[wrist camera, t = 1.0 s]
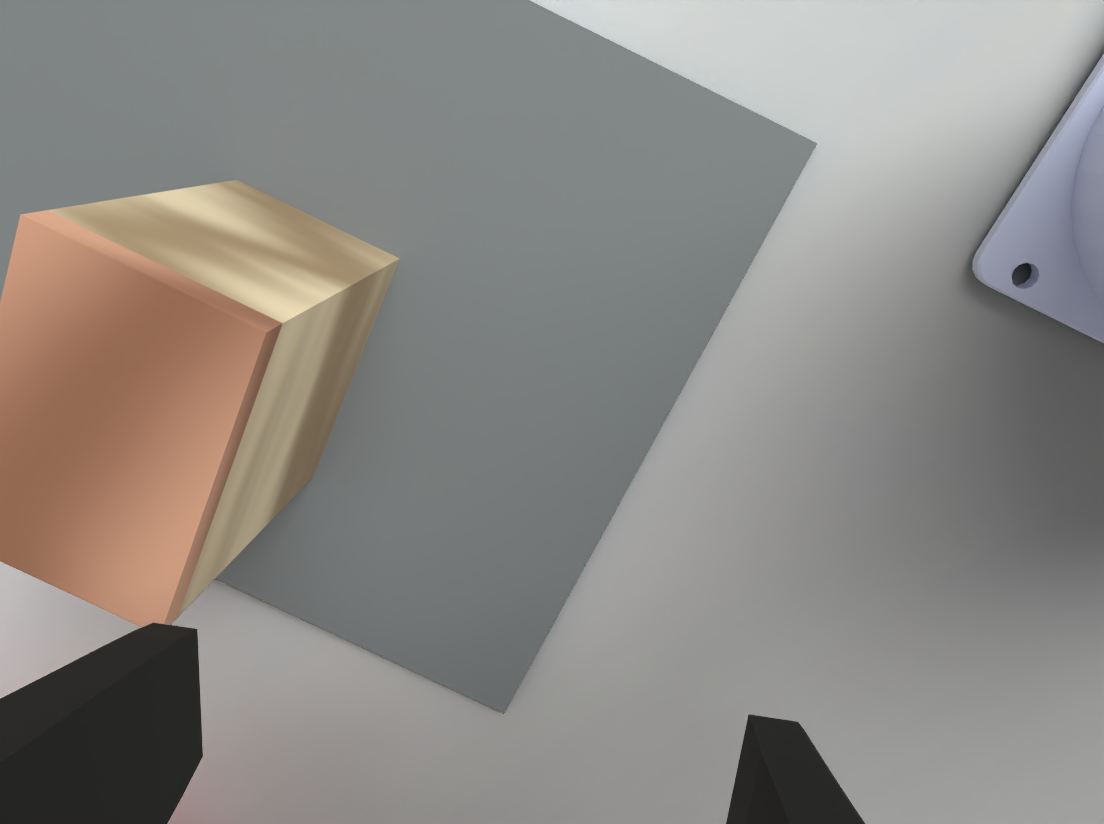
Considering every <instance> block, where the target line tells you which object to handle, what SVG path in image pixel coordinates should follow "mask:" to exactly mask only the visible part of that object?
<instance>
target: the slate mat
mask: <svg viewBox="0 0 1104 824" xmlns="http://www.w3.org/2000/svg"><path fill="white" fill-rule="evenodd" d="M816 145H817V143H815V142H813V141H811V140H809V139H807V138H805V137H803V136H801V135H799V134H797V133H795V132H793V131H791V130H789V129H787V128H785V127H783V126H781V125H779V124H777V123H775V122H773V121H771V120H769V119H767V118H765V117H763V116H761V115H759V114H757V113H755V112H753V111H751V110H749V109H747V108H745V107H743V106H741V105H738V104H736V103H734V102H732V101H730V100H728V99H726V98H724V97H722V96H720V95H718V94H716V93H714V92H712V91H710V90H708V89H706V88H704V87H702V86H700V85H698V84H696V83H694V82H692V81H690V80H688V79H686V78H684V77H682V76H680V75H678V74H676V73H674V72H672V71H670V70H668V69H666V68H664V67H662V66H660V65H658V64H656V63H654V62H652V61H650V60H648V59H646V58H644V57H642V56H640V55H638V54H636V53H634V52H632V51H630V50H628V49H626V48H624V47H622V46H620V45H618V44H616V43H614V42H612V41H610V40H608V39H606V38H604V37H602V36H600V35H598V34H596V33H594V32H592V31H590V30H588V29H585V28H583V27H581V26H579V25H577V24H575V23H573V22H571V21H569V20H567V19H565V18H563V17H561V16H559V15H557V14H555V13H553V12H551V11H549V10H547V9H545V8H543V7H541V6H539V5H537V4H535V3H533V2H531V1H529V0H0V301H1V297H2V293H3V288H4V284H5V279H6V275H7V271H8V266H9V262H10V258H11V253H12V249H13V245H14V240H15V236H16V231H17V227H18V223H19V218H20V214H27V213H33V212H39V211H45V210H51V209H58V208H64V207H70V206H76V205H83V204H89V203H95V202H101V201H108V200H114V199H120V198H126V197H133V196H139V195H145V194H151V193H158V192H164V191H170V190H176V189H183V188H189V187H195V186H201V185H208V184H214V183H220V182H226V181H233V180H238V181H240V182H242V183H244V184H247V185H249V186H251V187H253V188H255V189H257V190H259V191H261V192H263V193H265V194H267V195H269V196H271V197H273V198H275V199H278V200H280V201H282V202H284V203H286V204H288V205H290V206H292V207H294V208H296V209H298V210H300V211H302V212H304V213H306V214H308V215H311V216H313V217H315V218H317V219H319V220H321V221H323V222H325V223H327V224H329V225H331V226H333V227H335V228H337V229H339V230H342V231H344V232H346V233H348V234H350V235H352V236H354V237H356V238H358V239H360V240H362V241H364V242H366V243H368V244H370V245H373V246H375V247H377V248H379V249H381V250H383V251H385V252H387V253H389V254H391V255H393V256H395V257H397V258H399V261H398V264H397V266H396V269H395V271H394V274H393V276H392V279H391V281H390V284H389V287H388V289H387V292H386V294H385V297H384V299H383V302H382V304H381V307H380V309H379V312H378V314H377V317H376V319H375V322H374V324H373V327H372V329H371V332H370V334H369V337H368V339H367V342H366V344H365V347H364V350H363V352H362V355H361V357H360V360H359V362H358V365H357V367H356V370H355V372H354V375H353V377H352V380H351V382H350V385H349V387H348V390H347V392H346V395H345V397H344V400H343V402H342V405H341V408H340V410H339V413H338V415H337V418H336V420H335V423H334V425H333V428H332V430H331V433H330V435H329V438H328V440H327V443H326V445H325V448H324V450H323V453H322V455H321V458H320V460H319V463H318V465H317V468H316V471H315V473H314V476H313V478H312V479H311V480H310V481H309V482H308V483H307V484H306V485H305V486H304V487H303V488H302V489H301V490H300V491H299V492H298V493H297V494H296V495H295V496H294V497H293V498H292V499H291V500H290V501H289V502H288V503H287V505H286V506H285V507H284V508H283V509H282V510H281V511H280V512H279V513H278V514H277V515H276V516H275V517H274V518H273V519H272V520H271V521H270V522H269V523H268V524H267V525H266V526H265V527H264V528H263V529H262V530H261V531H260V532H259V534H258V535H257V536H256V537H255V538H254V539H253V540H252V541H251V542H250V543H249V544H248V545H247V546H246V547H245V548H244V549H243V550H242V551H241V552H240V553H239V554H238V555H237V556H236V557H235V558H234V559H233V560H232V561H231V563H230V564H229V565H228V566H227V567H226V568H225V569H224V570H223V571H222V572H221V573H220V574H219V575H218V576H217V577H216V578H215V579H217V580H219V581H221V582H223V583H225V584H227V585H229V586H231V587H234V588H236V589H238V590H240V591H242V592H244V593H246V594H249V595H251V596H253V597H255V598H257V599H259V600H261V601H264V602H266V603H268V604H270V605H272V606H274V607H276V608H278V609H281V610H283V611H285V612H287V613H289V614H291V615H293V616H296V617H298V618H300V619H302V620H304V621H306V622H308V623H310V624H313V625H315V626H317V627H319V628H321V629H323V630H325V631H328V632H330V633H332V634H334V635H336V636H338V637H340V638H343V639H345V640H347V641H349V642H351V643H353V644H355V645H357V646H360V647H362V648H364V649H366V650H368V651H370V652H372V653H375V654H377V655H379V656H381V657H383V658H385V659H387V660H389V661H392V662H394V663H396V664H398V665H400V666H402V667H404V668H407V669H409V670H411V671H413V672H415V673H417V674H419V675H422V676H424V677H426V678H428V679H430V680H432V681H434V682H436V683H439V684H441V685H443V686H445V687H447V688H449V689H451V690H454V691H456V692H458V693H460V694H462V695H464V696H466V697H468V698H471V699H473V700H475V701H477V702H479V703H481V704H483V705H486V706H488V707H490V708H492V709H494V710H496V711H498V712H501V713H503V714H504V713H505V711H506V709H507V707H508V705H509V704H510V702H511V700H512V698H513V696H514V694H515V693H516V691H517V689H518V687H519V685H520V684H521V682H522V680H523V678H524V676H525V674H526V673H527V671H528V669H529V667H530V665H531V663H532V662H533V660H534V658H535V656H536V654H537V653H538V651H539V649H540V647H541V645H542V643H543V642H544V640H545V638H546V636H547V634H548V633H549V631H550V629H551V627H552V625H553V623H554V622H555V620H556V618H557V616H558V614H559V613H560V611H561V609H562V607H563V605H564V603H565V602H566V600H567V598H568V596H569V594H570V592H571V591H572V589H573V587H574V585H575V583H576V582H577V580H578V578H579V576H580V574H581V572H582V571H583V569H584V567H585V565H586V563H587V562H588V560H589V558H590V556H591V554H592V552H593V551H594V549H595V547H596V545H597V543H598V542H599V540H600V538H601V536H602V534H603V532H604V531H605V529H606V527H607V525H608V523H609V521H610V520H611V518H612V516H613V514H614V512H615V511H616V509H617V507H618V505H619V503H620V501H621V500H622V498H623V496H624V494H625V492H626V491H627V489H628V487H629V485H630V483H631V481H632V480H633V478H634V476H635V474H636V472H637V471H638V469H639V467H640V465H641V463H642V461H643V460H644V458H645V456H646V454H647V452H648V450H649V449H650V447H651V445H652V443H653V441H654V440H655V438H656V436H657V434H658V432H659V430H660V429H661V427H662V425H663V423H664V421H665V420H666V418H667V416H668V414H669V412H670V410H671V409H672V407H673V405H674V403H675V401H676V400H677V398H678V396H679V394H680V392H681V390H682V389H683V387H684V385H685V383H686V381H687V379H688V378H689V376H690V374H691V372H692V370H693V369H694V367H695V365H696V363H697V361H698V359H699V358H700V356H701V354H702V352H703V350H704V349H705V347H706V345H707V343H708V341H709V339H710V338H711V336H712V334H713V332H714V330H715V329H716V327H717V325H718V323H719V321H720V319H721V318H722V316H723V314H724V312H725V310H726V308H727V307H728V305H729V303H730V301H731V299H732V298H733V296H734V294H735V292H736V290H737V288H738V287H739V285H740V283H741V281H742V279H743V278H744V276H745V274H746V272H747V270H748V268H749V267H750V265H751V263H752V261H753V259H754V258H755V256H756V254H757V252H758V250H759V248H760V247H761V245H762V243H763V241H764V239H765V237H766V236H767V234H768V232H769V230H770V228H771V227H772V225H773V223H774V221H775V219H776V217H777V216H778V214H779V212H780V210H781V208H782V207H783V205H784V203H785V201H786V199H787V197H788V196H789V194H790V192H791V190H792V188H793V187H794V185H795V183H796V181H797V179H798V177H799V176H800V174H801V172H802V170H803V168H804V166H805V165H806V163H807V161H808V159H809V157H810V156H811V154H812V152H813V150H814V148H815V146H816Z"/></svg>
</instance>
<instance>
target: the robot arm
mask: <svg viewBox="0 0 1104 824" xmlns="http://www.w3.org/2000/svg"><path fill="white" fill-rule="evenodd" d="M1024 263H1029V264H1030V265H1031V270H1032V273H1031V275H1030V278H1029V279H1028V280H1027V281H1026V282H1025V283H1023V284H1020V285H1014V284H1013V282H1012V278H1011V276H1012V273H1013V270H1014V269H1015V268H1016V267H1017V266H1019V265H1020V264H1024ZM973 272H974V274H975V276H976V278H977V279H978V280H979V281H981V282H982V283H983V284H985V285H987V286H988V287H990V288H992V289H994V290H996V291H998V292H1000V293H1002V294H1005V295H1007V296H1009V297H1011V298H1013V299H1015V300H1017V301H1019V302H1021V303H1023V304H1025V305H1027V306H1029V307H1031V308H1033V309H1035V310H1037V311H1039V312H1041V313H1043V314H1045V315H1047V316H1049V317H1051V318H1053V319H1055V320H1057V321H1059V322H1061V323H1063V324H1065V325H1067V326H1069V327H1071V328H1073V329H1075V330H1077V331H1079V332H1081V333H1083V334H1085V335H1087V336H1089V337H1091V338H1093V339H1096V340H1098V341H1100V342H1102V343H1104V54H1103V55H1102V57H1101V59H1100V60H1099V62H1098V63H1097V65H1096V66H1095V68H1094V69H1093V71H1092V73H1091V74H1090V76H1089V77H1088V79H1087V80H1086V82H1085V83H1084V85H1083V87H1082V88H1081V90H1080V91H1079V93H1078V94H1077V96H1076V97H1075V99H1074V101H1073V102H1072V104H1071V105H1070V107H1069V108H1068V110H1067V111H1066V113H1065V115H1064V116H1063V118H1062V119H1061V121H1060V122H1059V124H1058V125H1057V127H1056V129H1055V130H1054V132H1053V133H1052V135H1051V136H1050V138H1049V139H1048V141H1047V143H1046V144H1045V146H1044V147H1043V149H1042V150H1041V152H1040V153H1039V155H1038V157H1037V158H1036V160H1035V161H1034V163H1033V164H1032V166H1031V167H1030V169H1029V171H1028V172H1027V174H1026V175H1025V177H1024V178H1023V180H1022V181H1021V183H1020V185H1019V186H1018V188H1017V189H1016V191H1015V192H1014V194H1013V195H1012V197H1011V198H1010V200H1009V202H1008V203H1007V205H1006V206H1005V208H1004V209H1003V211H1002V212H1001V214H1000V216H999V217H998V219H997V220H996V222H995V223H994V225H993V226H992V228H991V230H990V231H989V233H988V234H987V236H986V237H985V239H984V240H983V242H982V244H981V245H980V247H979V248H978V250H977V251H976V254H975V256H974V258H973ZM202 757H203V752H202V730H201V707H200V684H199V661H198V638H197V629H192V628H185V627H179V626H172V625H166V624H159V623H151V624H149V625H146V626H144V627H142V628H140V629H137V630H135V631H133V632H131V633H129V634H127V635H125V636H123V637H121V638H119V639H117V640H115V641H113V642H111V643H109V644H107V645H105V646H103V647H101V648H99V649H97V650H95V651H93V652H91V653H89V654H87V655H85V656H83V657H81V658H79V659H77V660H75V661H74V662H72V663H70V664H68V665H66V666H64V667H62V668H60V669H58V670H56V671H54V672H52V673H50V674H48V675H46V676H44V677H42V678H40V679H38V680H36V681H34V682H32V683H31V684H29V685H27V686H25V687H23V688H21V689H19V690H17V691H15V692H13V693H11V694H9V695H7V696H5V697H3V698H1V699H0V824H167V823H168V821H169V819H170V817H171V816H172V814H173V812H174V810H175V808H176V807H177V805H178V803H179V801H180V799H181V797H182V796H183V794H184V792H185V790H186V788H187V786H188V784H189V782H190V780H191V778H192V776H193V774H194V772H195V770H196V768H197V766H198V764H199V762H200V760H201V759H202ZM726 824H865V823H864V821H863V820H862V818H861V817H860V815H859V814H858V812H857V811H856V809H855V808H854V807H853V805H852V803H851V802H850V800H849V799H848V797H847V796H846V794H845V793H844V791H843V790H842V788H841V787H840V785H839V784H838V782H837V781H836V779H835V778H834V776H833V775H832V773H831V771H830V770H829V768H828V767H827V765H826V764H825V762H824V760H823V759H822V757H821V756H820V754H819V753H818V751H817V749H816V748H815V746H814V745H813V743H812V742H811V740H810V738H809V737H808V735H807V734H806V732H805V731H804V729H803V728H802V727H801V725H800V724H799V723H798V722H794V721H788V720H781V719H775V718H768V717H762V716H755V715H748V720H747V725H746V730H745V735H744V740H743V745H742V750H741V754H740V759H739V764H738V769H737V774H736V779H735V784H734V789H733V794H732V798H731V803H730V808H729V813H728V818H727V823H726Z"/></svg>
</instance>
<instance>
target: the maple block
mask: <svg viewBox="0 0 1104 824" xmlns="http://www.w3.org/2000/svg"><path fill="white" fill-rule="evenodd" d="M398 261H399V258H397V257H395V256H393V255H391V254H389V253H387V252H385V251H383V250H381V249H379V248H377V247H375V246H373V245H370V244H368V243H366V242H364V241H362V240H360V239H358V238H356V237H354V236H352V235H350V234H348V233H346V232H344V231H342V230H339V229H337V228H335V227H333V226H331V225H329V224H327V223H325V222H323V221H321V220H319V219H317V218H315V217H313V216H311V215H308V214H306V213H304V212H302V211H300V210H298V209H296V208H294V207H292V206H290V205H288V204H286V203H284V202H282V201H280V200H278V199H275V198H273V197H271V196H269V195H267V194H265V193H263V192H261V191H259V190H257V189H255V188H253V187H251V186H249V185H247V184H244V183H242V182H240V181H238V180H233V181H226V182H220V183H214V184H208V185H201V186H195V187H189V188H183V189H176V190H170V191H164V192H158V193H151V194H145V195H139V196H133V197H126V198H120V199H114V200H108V201H101V202H95V203H89V204H83V205H76V206H70V207H64V208H58V209H51V210H45V211H39V212H33V213H27V214H20V218H19V223H18V227H17V231H16V236H15V240H14V245H13V249H12V253H11V258H10V262H9V266H8V271H7V275H6V279H5V284H4V288H3V293H2V297H1V301H0V561H1V562H3V563H5V564H8V565H10V566H12V567H14V568H16V569H18V570H20V571H23V572H25V573H27V574H29V575H31V576H33V577H36V578H38V579H40V580H42V581H44V582H46V583H48V584H51V585H53V586H55V587H57V588H59V589H61V590H63V591H66V592H68V593H70V594H72V595H74V596H76V597H79V598H81V599H83V600H85V601H87V602H89V603H91V604H94V605H96V606H98V607H100V608H102V609H104V610H106V611H109V612H111V613H113V614H115V615H117V616H119V617H122V618H124V619H126V620H128V621H130V622H132V623H134V624H137V625H139V626H141V627H144V626H146V625H149V624H151V623H159V624H166V625H171V624H172V623H173V622H174V621H175V620H176V618H177V617H178V616H179V615H180V614H181V613H182V612H183V611H184V610H185V609H186V608H187V607H188V606H189V605H190V604H191V603H192V602H193V601H194V600H195V599H196V598H197V597H198V596H199V595H200V594H201V593H202V592H203V591H204V589H205V588H206V587H207V586H208V585H209V584H210V583H211V582H212V581H213V580H214V579H215V578H216V577H217V576H218V575H219V574H220V573H221V572H222V571H223V570H224V569H225V568H226V567H227V566H228V565H229V564H230V563H231V561H232V560H233V559H234V558H235V557H236V556H237V555H238V554H239V553H240V552H241V551H242V550H243V549H244V548H245V547H246V546H247V545H248V544H249V543H250V542H251V541H252V540H253V539H254V538H255V537H256V536H257V535H258V534H259V532H260V531H261V530H262V529H263V528H264V527H265V526H266V525H267V524H268V523H269V522H270V521H271V520H272V519H273V518H274V517H275V516H276V515H277V514H278V513H279V512H280V511H281V510H282V509H283V508H284V507H285V506H286V505H287V503H288V502H289V501H290V500H291V499H292V498H293V497H294V496H295V495H296V494H297V493H298V492H299V491H300V490H301V489H302V488H303V487H304V486H305V485H306V484H307V483H308V482H309V481H310V480H311V479H312V478H313V476H314V473H315V471H316V468H317V465H318V463H319V460H320V458H321V455H322V453H323V450H324V448H325V445H326V443H327V440H328V438H329V435H330V433H331V430H332V428H333V425H334V423H335V420H336V418H337V415H338V413H339V410H340V408H341V405H342V402H343V400H344V397H345V395H346V392H347V390H348V387H349V385H350V382H351V380H352V377H353V375H354V372H355V370H356V367H357V365H358V362H359V360H360V357H361V355H362V352H363V350H364V347H365V344H366V342H367V339H368V337H369V334H370V332H371V329H372V327H373V324H374V322H375V319H376V317H377V314H378V312H379V309H380V307H381V304H382V302H383V299H384V297H385V294H386V292H387V289H388V287H389V284H390V281H391V279H392V276H393V274H394V271H395V269H396V266H397V264H398Z"/></svg>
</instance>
